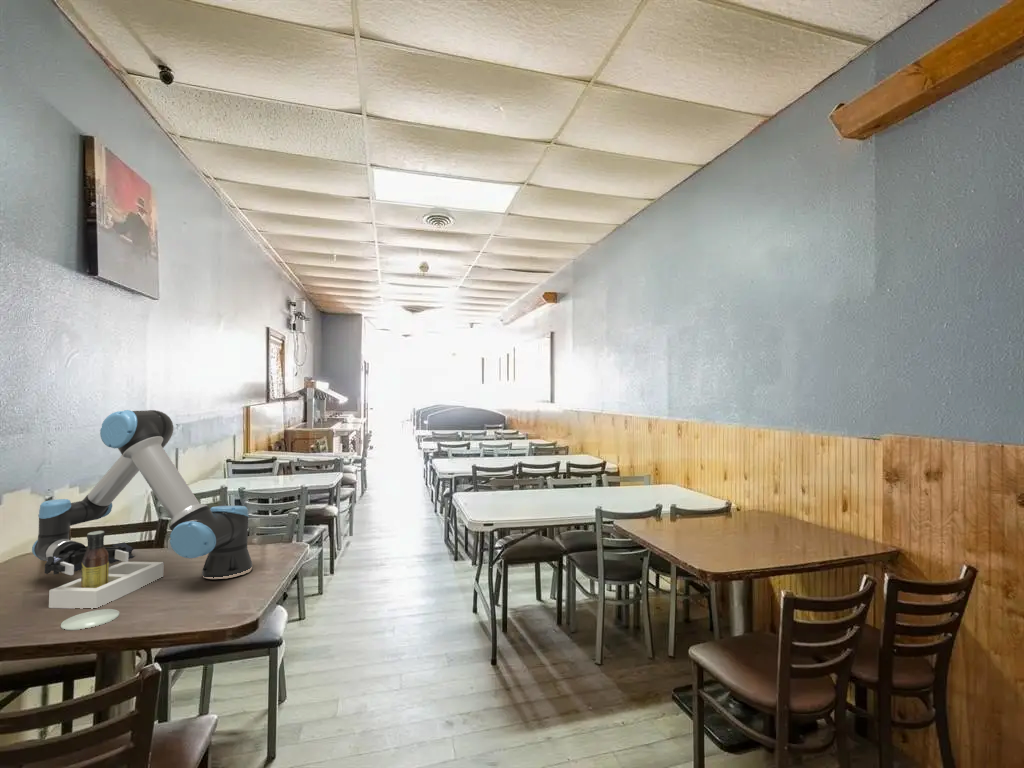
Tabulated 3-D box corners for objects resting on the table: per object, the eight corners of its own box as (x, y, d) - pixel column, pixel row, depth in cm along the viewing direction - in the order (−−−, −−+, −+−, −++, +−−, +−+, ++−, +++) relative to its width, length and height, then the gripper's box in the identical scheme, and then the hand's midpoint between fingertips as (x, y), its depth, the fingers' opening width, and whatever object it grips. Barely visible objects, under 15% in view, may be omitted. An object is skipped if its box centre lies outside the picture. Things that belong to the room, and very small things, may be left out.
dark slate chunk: (48, 567, 176) (48, 554, 176) (120, 551, 195) (120, 539, 196) (66, 575, 169) (67, 561, 169) (140, 557, 188) (140, 545, 188)
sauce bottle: (91, 594, 150) (94, 529, 151) (113, 594, 151) (115, 529, 152) (74, 603, 144) (77, 535, 145) (97, 602, 144) (99, 534, 145)
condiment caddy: (163, 577, 166) (163, 562, 166) (95, 608, 140) (96, 591, 140) (123, 576, 166) (123, 561, 166) (48, 607, 141) (49, 590, 141)
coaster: (130, 611, 139) (130, 609, 139) (92, 630, 127) (92, 628, 127) (89, 610, 139) (89, 608, 139) (47, 629, 127) (47, 627, 127)
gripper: (112, 554, 167) (147, 564, 157) (13, 577, 145) (45, 590, 135) (113, 532, 167) (147, 540, 158) (14, 551, 145) (47, 562, 135)
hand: (100, 563), depth 146 cm, fingers open, 13 cm apart
